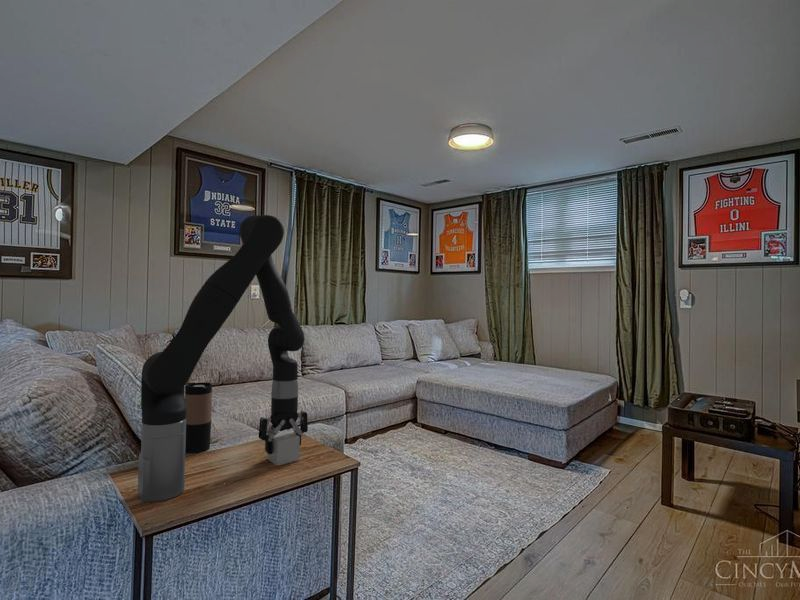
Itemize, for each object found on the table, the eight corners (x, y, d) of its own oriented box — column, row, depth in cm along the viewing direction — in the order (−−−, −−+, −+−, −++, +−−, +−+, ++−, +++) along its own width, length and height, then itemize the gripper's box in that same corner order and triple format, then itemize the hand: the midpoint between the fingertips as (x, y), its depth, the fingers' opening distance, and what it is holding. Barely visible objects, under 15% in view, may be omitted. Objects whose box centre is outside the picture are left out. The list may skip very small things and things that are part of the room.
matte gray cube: (277, 465, 118) (277, 441, 118) (267, 458, 123) (267, 435, 123) (299, 460, 123) (299, 436, 123) (288, 453, 128) (289, 431, 128)
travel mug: (185, 446, 132) (187, 382, 133) (212, 444, 135) (213, 382, 135) (180, 454, 125) (182, 387, 125) (208, 452, 127) (210, 386, 128)
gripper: (266, 400, 116) (265, 459, 115) (312, 394, 125) (311, 449, 125) (255, 395, 121) (254, 452, 121) (300, 390, 131) (299, 442, 130)
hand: (283, 450), depth 123 cm, fingers open, 8 cm apart
